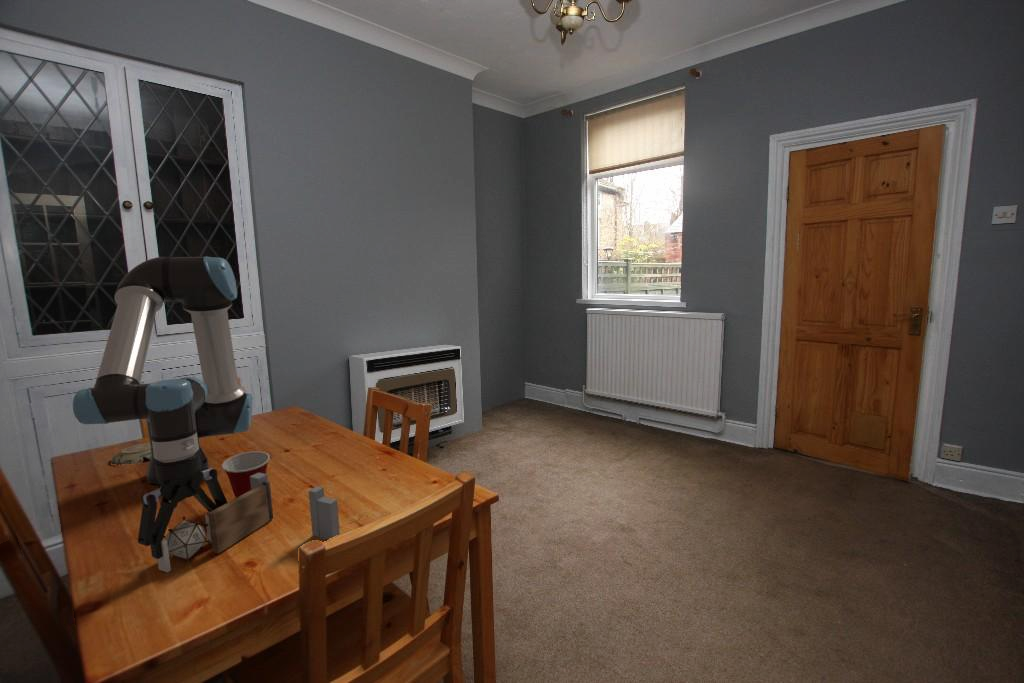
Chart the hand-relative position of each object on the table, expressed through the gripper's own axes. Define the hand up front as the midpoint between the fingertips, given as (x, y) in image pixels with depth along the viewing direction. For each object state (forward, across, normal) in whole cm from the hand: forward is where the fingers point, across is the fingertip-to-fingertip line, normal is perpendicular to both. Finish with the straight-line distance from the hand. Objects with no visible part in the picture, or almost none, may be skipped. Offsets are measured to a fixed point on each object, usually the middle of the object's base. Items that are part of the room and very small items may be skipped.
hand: (190, 555), depth 99 cm
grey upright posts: (0, +17, -11) cm, 21 cm away
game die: (0, 0, 0) cm, 1 cm away
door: (0, +10, -3) cm, 10 cm away
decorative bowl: (+1, +28, +71) cm, 76 cm away
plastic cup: (0, +21, +9) cm, 23 cm away
